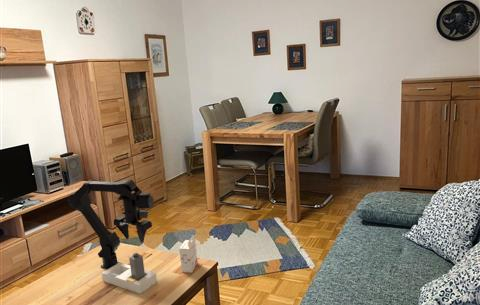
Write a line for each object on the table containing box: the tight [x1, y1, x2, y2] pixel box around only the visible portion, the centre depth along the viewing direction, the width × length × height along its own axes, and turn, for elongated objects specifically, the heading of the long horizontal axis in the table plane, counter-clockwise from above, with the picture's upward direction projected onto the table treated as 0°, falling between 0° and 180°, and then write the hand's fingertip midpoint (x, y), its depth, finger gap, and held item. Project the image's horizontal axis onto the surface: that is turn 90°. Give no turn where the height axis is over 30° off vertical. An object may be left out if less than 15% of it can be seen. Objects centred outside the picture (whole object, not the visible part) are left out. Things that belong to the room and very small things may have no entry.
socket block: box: [101, 261, 158, 294], centre depth 168 cm, size 22×10×4 cm, turn 59°
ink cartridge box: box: [178, 234, 198, 274], centre depth 175 cm, size 9×5×15 cm, turn 168°
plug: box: [128, 252, 145, 281], centre depth 164 cm, size 4×4×14 cm
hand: (134, 240), depth 178 cm, fingers open, 9 cm apart
